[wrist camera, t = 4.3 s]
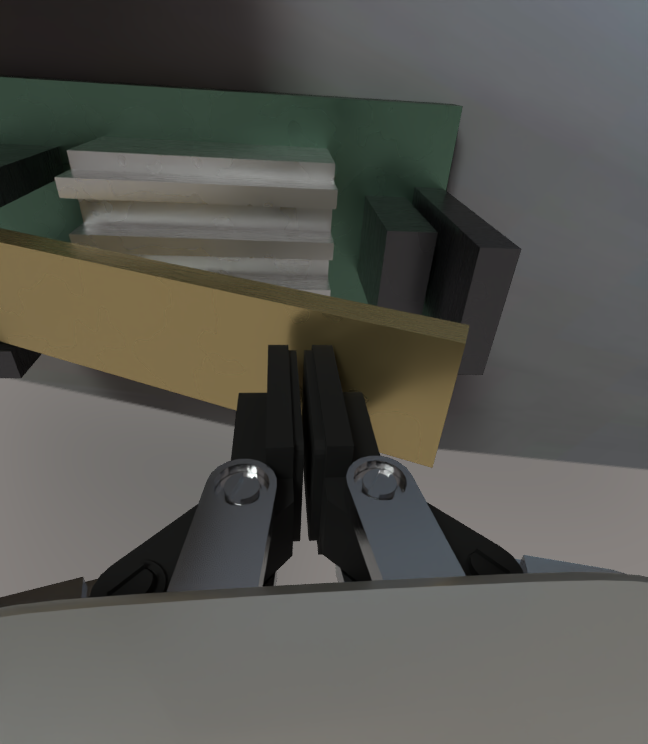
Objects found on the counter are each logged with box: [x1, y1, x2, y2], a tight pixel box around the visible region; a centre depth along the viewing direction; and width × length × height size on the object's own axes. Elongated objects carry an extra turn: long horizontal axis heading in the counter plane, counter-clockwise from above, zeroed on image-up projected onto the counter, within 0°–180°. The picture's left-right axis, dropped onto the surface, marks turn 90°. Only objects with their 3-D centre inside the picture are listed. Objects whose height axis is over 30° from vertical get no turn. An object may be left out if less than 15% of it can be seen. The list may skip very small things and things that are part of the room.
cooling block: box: [0, 75, 521, 378], centre depth 20 cm, size 22×12×10 cm, turn 87°
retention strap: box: [0, 228, 470, 468], centre depth 14 cm, size 19×4×2 cm, turn 86°
